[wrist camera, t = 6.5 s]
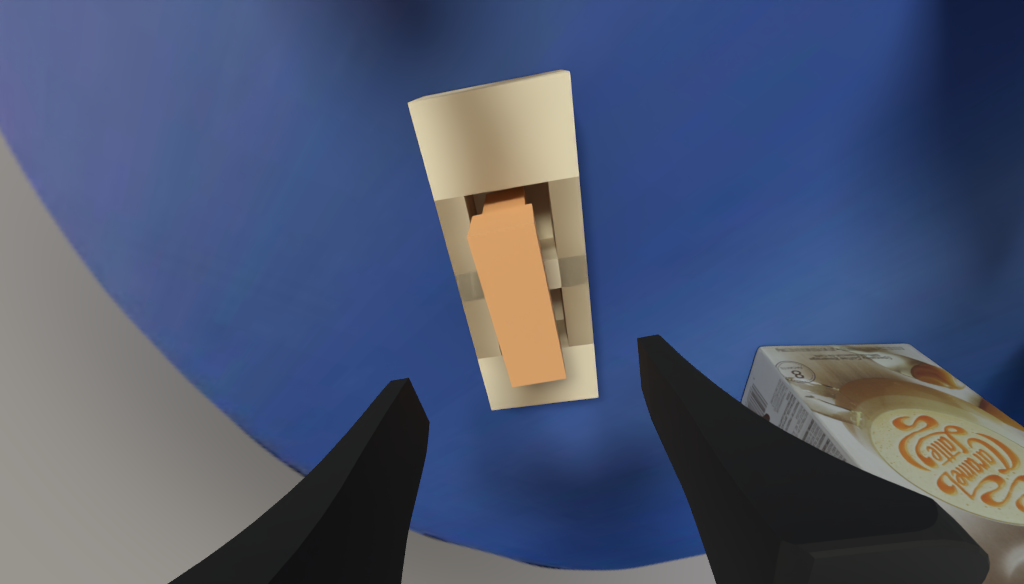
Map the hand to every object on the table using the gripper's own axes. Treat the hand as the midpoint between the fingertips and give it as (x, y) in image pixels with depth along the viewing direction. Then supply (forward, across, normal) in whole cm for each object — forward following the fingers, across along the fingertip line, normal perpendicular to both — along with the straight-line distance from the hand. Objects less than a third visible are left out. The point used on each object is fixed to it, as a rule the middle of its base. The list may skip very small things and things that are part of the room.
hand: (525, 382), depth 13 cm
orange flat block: (+9, 0, 0) cm, 9 cm away
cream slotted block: (+10, 0, 0) cm, 10 cm away
